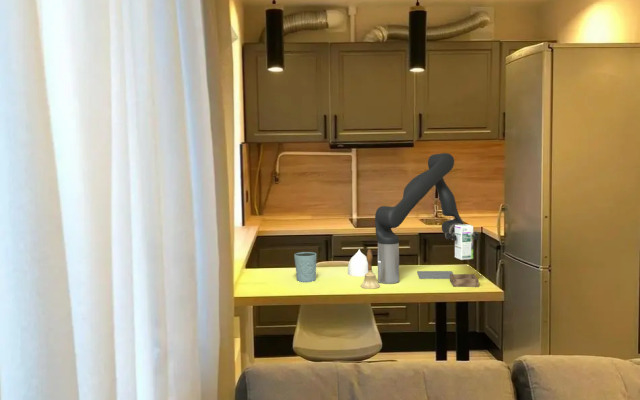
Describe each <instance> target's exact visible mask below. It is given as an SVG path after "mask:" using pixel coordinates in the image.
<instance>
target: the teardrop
mask: <svg viewBox="0 0 640 400" xmlns="http://www.w3.org/2000/svg"><path fill="white" fill-rule="evenodd" d="M347 265H348V266H347V275H349V276H352V277H365V274H366V273H368V262H367V255H365V254H364V253H363V252H361V249H360V248H359V249H358V251H357V252H356V253H355V254H354V255H353V256H352V257H351V258H350V259H349V262H348V264H347Z"/></svg>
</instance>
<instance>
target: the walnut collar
mask: <svg viewBox="0 0 640 400" xmlns="http://www.w3.org/2000/svg"><path fill="white" fill-rule="evenodd" d="M449 282H450V284H451V285H452V287H453V288H455V287H456V288H479V282H480V280H479V278H478V277H477V276H476V275H475V274H474V273H472V274H471V273H453V274H450V279H449Z"/></svg>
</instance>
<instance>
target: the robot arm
mask: <svg viewBox="0 0 640 400" xmlns="http://www.w3.org/2000/svg"><path fill="white" fill-rule="evenodd" d="M454 165H455V158H454V156H453V155H452V154H451V153H447V152H443V153H435V154H431V155H430V156H429V157H428V159H427V166H428V167H427V168H428V169H427V170H425V171H424V172H422V173H420V174H418V175H416V176H415V177H413V178H412V179H411V180H410V181H409V182H408V183H407V184H406V186H405V187H404V189H403V192H402V193H403V194H402V199H401V200H400V201H399V202H398V203H397V204H396V205H394V206H388V205H381V206H379V207H378V208H377V209H376V212H375V214H374V215H375V216H374V225H375V236H376V238H377V282H378V284H379V283H380V284H397V283H399V282H400V251H399V250H400V243H399V240H400V239H399V235H397V234H395V232H394V231H393V230H392V229H396V228H398V227H400V225H402V223H403V222H404V220H406V218H407V217H408V215H409V214H410V213H411V211H412V210H413V209H414V207H416V205H418V203H419V202H420V201H422V199H423V198H425V196H426V195H427V194H428V193H429V192H430V190H432V189H433V187H435V188H436V191H437V194H438V198H439V203H440V207H441V212H442V215H443V216H444V217H452V218H453V217H454V218H453V219H449V220H445V221H444V222H442V224H441V231H442V233H443V234H444V235H445V237H444V238H445V239H446V240H450V239H451V240H452V241H454V242H455V241H456V235H455V225H463V224H465V223H464V221H463V219H462V217H461V216H460V213H459V211H458V208H457V202H456V198H455V195H454V194H453V192H452V190H451V189H450V187H449V186H448V185H447V183H446V181H445V178H444V177H445V176H446V175H447V174H449V173H450V171H451V172H452V169H453V168H454ZM479 238H480V233H479V232H478V231H473V242H475V241H476V240H480V239H479Z"/></svg>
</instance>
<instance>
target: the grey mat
mask: <svg viewBox="0 0 640 400" xmlns="http://www.w3.org/2000/svg"><path fill="white" fill-rule="evenodd" d="M416 273H417V275H418V276H417V277H418V279H420V280H421V279H422V280H435V279H436V280H438V279H439V280H450V274H454V272H453V271H452V270H417V271H416Z"/></svg>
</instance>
